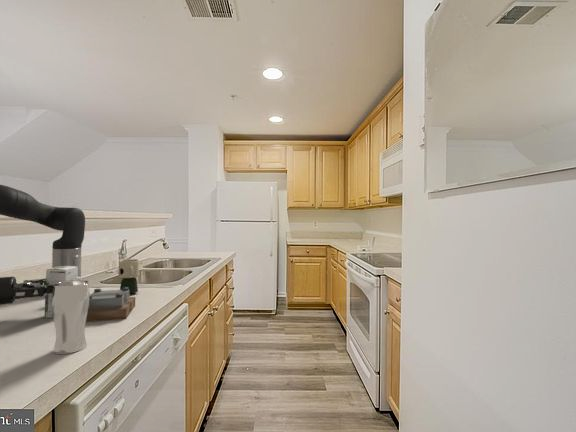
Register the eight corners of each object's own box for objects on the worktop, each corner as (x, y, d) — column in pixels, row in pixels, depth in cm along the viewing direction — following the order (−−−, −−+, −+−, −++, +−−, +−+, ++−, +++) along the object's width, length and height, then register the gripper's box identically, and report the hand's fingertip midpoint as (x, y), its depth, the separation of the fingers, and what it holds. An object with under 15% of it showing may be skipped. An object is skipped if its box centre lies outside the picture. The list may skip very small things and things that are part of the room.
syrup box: (57, 312, 93) (58, 265, 93) (77, 311, 93) (78, 265, 93) (44, 318, 87) (44, 268, 87) (65, 317, 88) (66, 268, 88)
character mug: (116, 292, 118) (117, 259, 118) (136, 289, 122) (137, 258, 122) (120, 298, 109) (120, 263, 109) (141, 295, 113) (142, 261, 113)
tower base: (91, 308, 96) (91, 287, 96) (135, 305, 100) (135, 285, 100) (74, 322, 84) (75, 298, 84) (126, 318, 88) (126, 295, 88)
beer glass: (47, 358, 63) (48, 287, 63) (55, 345, 69) (56, 281, 69) (86, 351, 66) (87, 284, 66) (90, 340, 72) (91, 278, 72)
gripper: (-16, 283, 76) (64, 276, 85) (-3, 273, 87) (66, 269, 97) (-16, 312, 76) (63, 302, 85) (-3, 299, 87) (66, 292, 97)
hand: (65, 284), depth 91 cm, fingers open, 8 cm apart
